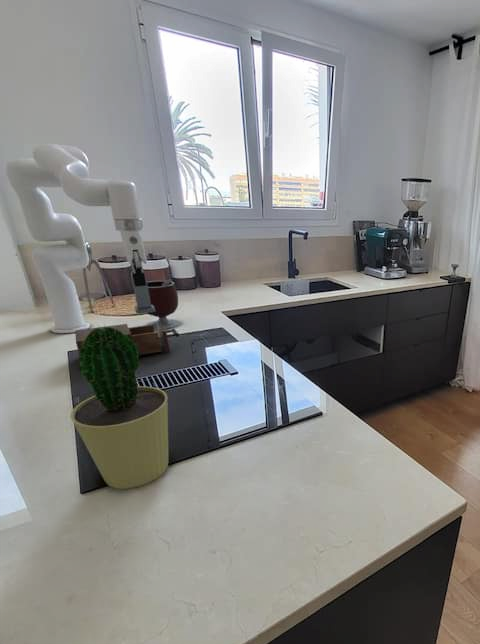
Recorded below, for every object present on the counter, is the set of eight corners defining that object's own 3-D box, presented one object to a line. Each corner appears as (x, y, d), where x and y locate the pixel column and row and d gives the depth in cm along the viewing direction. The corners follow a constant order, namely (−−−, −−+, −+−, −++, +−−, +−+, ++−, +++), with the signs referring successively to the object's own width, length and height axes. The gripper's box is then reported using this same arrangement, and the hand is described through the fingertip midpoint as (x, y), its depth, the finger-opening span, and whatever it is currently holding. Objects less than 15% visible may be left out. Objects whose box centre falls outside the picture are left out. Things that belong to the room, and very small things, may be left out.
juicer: (115, 306, 186) (100, 240, 174) (91, 312, 176) (74, 243, 164) (101, 304, 189) (85, 239, 177) (78, 309, 180) (59, 241, 168)
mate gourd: (137, 327, 159) (126, 277, 151) (164, 318, 171) (156, 272, 163) (166, 332, 154) (157, 281, 146) (192, 323, 165) (185, 275, 157)
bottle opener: (134, 310, 131) (126, 267, 126) (153, 308, 134) (145, 266, 129) (136, 313, 128) (128, 270, 122) (155, 311, 131) (147, 269, 125)
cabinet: (132, 348, 137) (126, 323, 134) (137, 360, 128) (131, 333, 124) (82, 356, 130) (75, 330, 126) (83, 369, 120) (75, 341, 117)
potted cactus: (120, 509, 68) (73, 347, 56) (75, 476, 75) (26, 327, 63) (195, 463, 80) (171, 322, 68) (151, 439, 87) (122, 308, 75)
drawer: (176, 339, 144) (172, 320, 141) (183, 349, 136) (179, 329, 133) (121, 348, 135) (116, 328, 132) (124, 359, 126) (119, 337, 123)
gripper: (146, 227, 116) (157, 289, 123) (139, 223, 128) (149, 279, 135) (117, 227, 112) (130, 291, 120) (112, 223, 124) (124, 281, 131)
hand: (140, 284), depth 127 cm, fingers closed on bottle opener
